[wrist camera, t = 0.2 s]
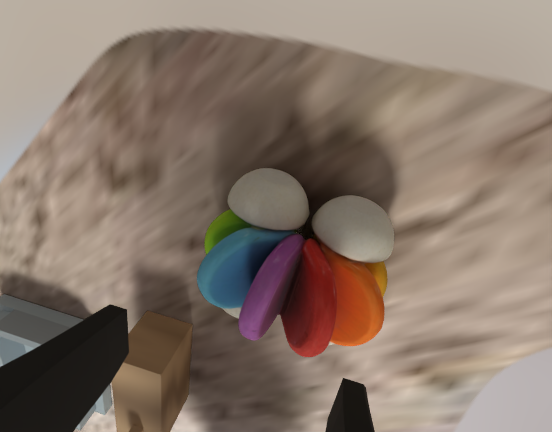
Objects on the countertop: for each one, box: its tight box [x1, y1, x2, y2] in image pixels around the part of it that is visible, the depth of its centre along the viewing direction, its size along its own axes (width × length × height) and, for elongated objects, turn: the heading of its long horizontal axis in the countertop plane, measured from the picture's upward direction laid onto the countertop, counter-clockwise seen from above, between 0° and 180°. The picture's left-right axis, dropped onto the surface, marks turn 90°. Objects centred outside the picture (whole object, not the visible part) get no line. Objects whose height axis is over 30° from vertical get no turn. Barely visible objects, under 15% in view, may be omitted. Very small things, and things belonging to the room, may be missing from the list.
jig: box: [0, 294, 112, 430], centre depth 30 cm, size 10×9×3 cm
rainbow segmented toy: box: [197, 168, 394, 357], centre depth 18 cm, size 8×10×7 cm
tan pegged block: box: [112, 311, 192, 432], centre depth 25 cm, size 8×4×6 cm, turn 171°
